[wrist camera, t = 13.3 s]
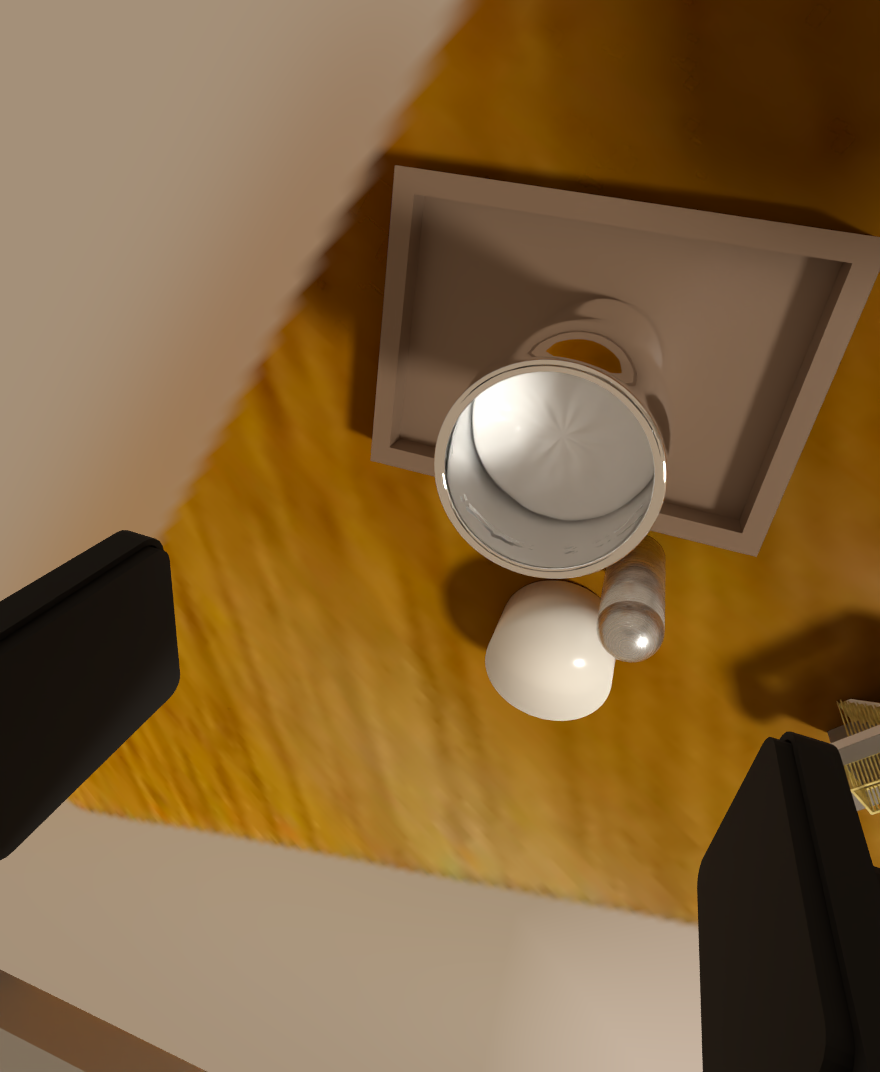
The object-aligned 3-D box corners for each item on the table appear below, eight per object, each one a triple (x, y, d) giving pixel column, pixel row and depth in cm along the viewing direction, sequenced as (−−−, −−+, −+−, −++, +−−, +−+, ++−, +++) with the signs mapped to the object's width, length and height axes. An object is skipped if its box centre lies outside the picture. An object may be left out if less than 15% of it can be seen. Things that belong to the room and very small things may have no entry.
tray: (875, 236, 26) (892, 239, 24) (751, 534, 33) (756, 556, 31) (413, 167, 31) (394, 165, 28) (387, 445, 37) (370, 460, 35)
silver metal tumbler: (622, 253, 29) (584, 294, 16) (701, 385, 30) (726, 521, 17) (495, 344, 32) (380, 439, 19) (572, 460, 33) (512, 619, 21)
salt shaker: (672, 541, 35) (673, 630, 28) (656, 588, 36) (652, 683, 29) (616, 527, 35) (602, 610, 28) (602, 573, 37) (586, 664, 30)
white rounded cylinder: (567, 560, 37) (555, 598, 34) (643, 647, 38) (638, 693, 35) (479, 613, 41) (460, 652, 37) (550, 691, 42) (538, 736, 38)
